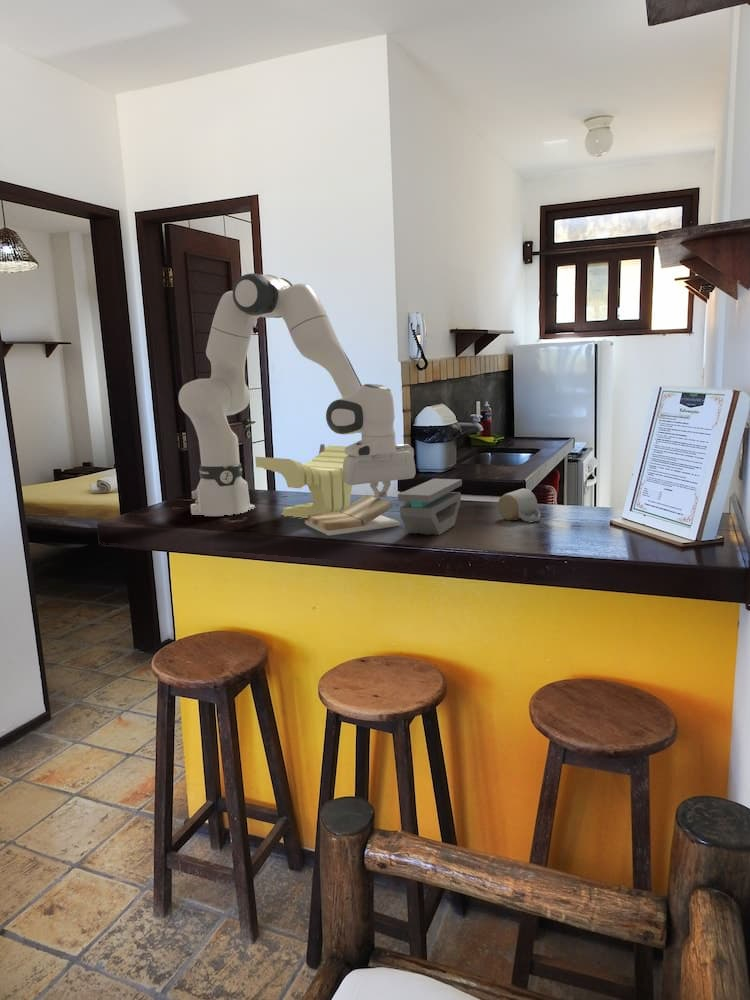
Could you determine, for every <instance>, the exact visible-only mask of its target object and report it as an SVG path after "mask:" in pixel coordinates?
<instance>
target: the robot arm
mask: <svg viewBox="0 0 750 1000" xmlns="http://www.w3.org/2000/svg"><path fill="white" fill-rule="evenodd" d="M216 307H217V308H216V309H215V313H214V316H213V319H212V324H211V327H210V332H209V336H208V340H207V344H206V348H205V349H206V350H205V354H206V357H207V359H208V360H209V361H210V365H211V369H210V370H211V371H210V372H211V373H210V377H209V378H198V379H194V380H191V381H189V382H186V383H185V384H183V386H182V387H181V388H180V390H179V392H178V404H179V406H180V409H181V410H182V411H183V413H185V414H186V415H187V417H189V419H190V421H191V423H192V425H193V426H194V429H195V433H196V436H197V439H198V445H199V455H200V465H199V477H200V480H199V482H198V484H197V486H196V489H194V490H192V491H191V499H193V500H195V501H194V503H191V504H190V515H191V514H192V515H204V516H203V517H225V516H224V515H228V516H233V514H235V515H240V513H241V514H244V513H247V512H248V510H249V511H251V509H252V510H254V508H255V509H256V505H255V504H252V503H250V494H249V486H248V482H247V481H246V479H244V478H243V477H242V476H243V468H242V463H241V462H240V450H239V449H240V447H239V438H238V436H237V434H236V433H235V432H234V431H233V430H232V429H231V426H230V424H229V421H228V418H227V416H228V417H229V416H233V415H237V414H238V413H241V412H242V411H244V410H245V409H246V408H247V407H248V406H249V405H250V401H251V394H250V393H251V392H250V389H249V386H248V385H247V384H246V378H245V377H246V372H245V369H246V367H245V366H246V359H247V355H248V350H249V346H250V343H251V342H250V341H251V338H252V333H253V330H254V326H255V323H256V321H257V320H258V319H260V318H267V319H268V318H277V319H279V318H281V319H283V321H284V323H285V325H286V327H287V330H288V332H289V335H290V338H291V340H292V342H293V345H294V346H295V347H296V349H297V350H298V351H299V353H300V355H302V356H303V357H304V358H306V359H308V360H310V361H312V362H314V363H315V364H317V365H319V366H321V368H324V370H325V371H327V373H329V374H330V377H332V380H333V381H334V384H335V385H336V387H337V390H338V392H339V393H340V395H341V398H338V399H335V400H334V401H332V402H331V403H330V404H329V405H328V407H327V409H326V412H325V419H326V423H327V426H328V427H329V429H330V430H331V431H333V432H334V433H335V434H339V435H353V434H357V433H359V434H361V439H359V441H357V442H354V443H352V444H350V445H347V447H346V448H345V454H346V455H348V456H347V457H346V458H345V459H344V462H343V481H344V482H345V483H346V484H348V485H352V486H356V485H365V484H369V487H370V488H371V490H372V491H373V492H374V493H373V494H374V496H373V497H375V499H382V500H383V499H387V498H388V490H389V489H390V487H391V481H392V482H393V481H399V480H400V481H401V480H408V479H409V480H410V479H414V477H415V475H416V474H417V473H416V472H417V471H416V464H415V463H416V462H415V458H414V457H415V449H414V448H413V447H412V446H411V445H409V444H408V443H404V444H396V432H395V428H394V422H395V405H394V397H393V394H392V391H391V389H390V388H389V387H387V386H386V385H384V384H383V385H382V384H375V383H374V384H373V383H365V384H362V383H361V381H360V379H359V377H358V375H357V374H356V371H355V369H354V367H353V364H352V363H351V361H350V360H349V357H348V356H347V354H346V352H345V350H344V348H343V346H342V345H341V342H340V341H339V340H338V337H337V335H336V333H335V330H334V327H333V326H332V323H331V321H330V318H329V315H328V314H327V312H326V310H325V307H324V305H323V304H322V302H321V300H320V299H319V296H318V295H317V293H316V292H315V291H314V289H313V288H312V287H311V286H310V285H308V284H306V283H296V284H293V283H292V282H291V281H289V280H288V279H285V278H282V277H278V276H275V275H272V274H259V273H254V272H253V273H247V274H244V275H240V277H239V278H237V280H236V281H235V282H234V285H233V287H232V290H229V291H226V292H224V294H223V295H221V298H220V299H219V301H218V304H217V306H216ZM379 483H382V485H383V486H382V489H381V490H379V489H378V487H379ZM192 515H191V516H192Z"/></svg>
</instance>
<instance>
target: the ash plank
mask: <svg viewBox="0 0 750 1000" xmlns="http://www.w3.org/2000/svg"><path fill="white" fill-rule="evenodd" d="M391 509H393V504H392V502H390V501H388V500H384V499H383V498H382V499H375V496H372V495H370V494H365V495H364V496H362V497H360V498H359V499H357V500H355V501H354V502H353V503H350V505H349V506H348V507H346V508H345V509H343V510H341V511H340V512H341V513H344V514H346V515H349V516H351V517H354V518H356V519H359V520H361V524H363V525H366V524H367V523H369V522H370V521H372V520H374V519H375V518H377V517H378V516H380V515H383V514H384V513H386V512H388V511H389V510H391Z"/></svg>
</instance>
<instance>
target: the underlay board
mask: <svg viewBox="0 0 750 1000" xmlns="http://www.w3.org/2000/svg"><path fill="white" fill-rule="evenodd" d="M305 524H306V525H305ZM400 524H401V523H400V521H398V520H396V519H393V518H391V517H387V516H385V515H383V514H381V515H380V516H378V517H377V518H375V519H374V520H372V521H370V522H369V523H367V524H366V525H363V524H361V526H360V527H352V528H345V529H338V530H331V531H328V530H326V529H324V528H322V527H319V526H317V525H315V524H313V523H311V522H309V521H308V519H305V520H304V525H305V526H307V525H308V526H307V527H310V528H312V529H314V530H316V531H318V532H319V533H322V534H324V535H326V536H336V535H342V534H350V533H359V532H362V531H363V532H364V531H371V530H378V529H385V528H393V527H394V528H395V527H400V526H401V525H400Z"/></svg>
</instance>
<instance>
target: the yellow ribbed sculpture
mask: <svg viewBox="0 0 750 1000" xmlns="http://www.w3.org/2000/svg"><path fill="white" fill-rule="evenodd" d="M347 446H348V445H347ZM347 446H343V445H342V446H341V445H327V446H325V449H324V452H321V453H320V454H319V453H318V454H317V456H318V457H316V456H315V457H314V458H312V459H311V460H310V461H307V462H305V463H304V464H303V463H301V462H300V461H297V460H295V459H290V458H280V457H279V458H278V457H266V456H265V457H264V456H263V457H262V456H255V457H254V458H255V467H256V468H262V469H263V470H268V471H271V472H274V473H278V474H281V475H282V476H283V478H284V480H285V482H286V485H287V488H292V489H301V488H303V487H304V486H305V485H306V486H307V487H308V489H309V492H310V493H311V496H312V498H313V499H312V502H305V503H301V504H297V505H292V506H289V507H284V508H282V513H281V515H284V516H283V517H287V516H294V517H293V518H295V517H302V518H308V515H316V514H324V513H332V512H340V511H341V510H343V509H345V508H346V507H348V506H349V505H351V494H352V488H353V485H348V484H346V483H345V482H344V481H343V462H344V459H345V458H346V457H347V456H348V455H346V454H345V448H346V447H347ZM302 518H301V519H302Z"/></svg>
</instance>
